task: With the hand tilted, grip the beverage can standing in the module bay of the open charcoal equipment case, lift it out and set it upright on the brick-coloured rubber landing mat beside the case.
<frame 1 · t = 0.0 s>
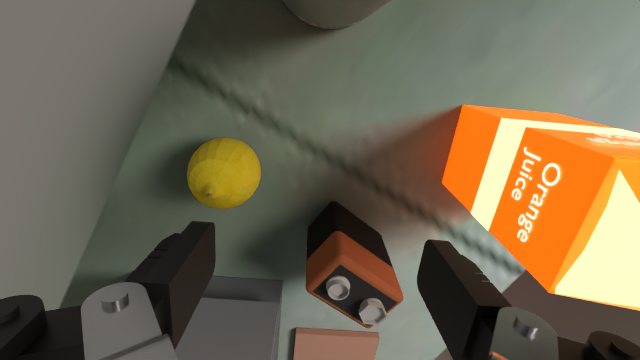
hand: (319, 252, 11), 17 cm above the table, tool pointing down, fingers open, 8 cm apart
orange juice: (495, 149, 28), on the table
fruit: (237, 156, 28), on the table
battery: (344, 229, 31), on the table
landing mat: (332, 358, 39), on the table
equipment case: (212, 328, 36), on the table
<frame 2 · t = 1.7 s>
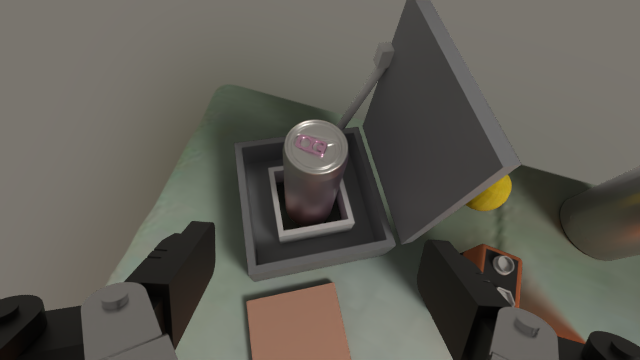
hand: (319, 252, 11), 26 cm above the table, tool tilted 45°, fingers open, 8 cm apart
beverage can: (308, 207, 40), resting in equipment case
fruit: (466, 200, 42), on the table
battery: (452, 293, 37), on the table
landing mat: (299, 340, 33), on the table
equipment case: (308, 206, 40), on the table
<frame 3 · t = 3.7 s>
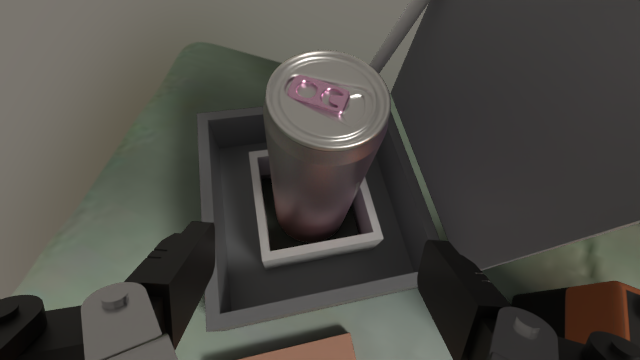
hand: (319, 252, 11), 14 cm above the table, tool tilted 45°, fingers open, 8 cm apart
beverage can: (309, 212, 27), resting in equipment case
battery: (531, 347, 24), on the table
equipment case: (309, 211, 27), on the table
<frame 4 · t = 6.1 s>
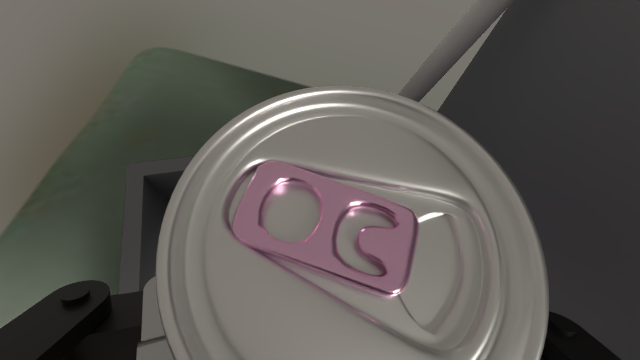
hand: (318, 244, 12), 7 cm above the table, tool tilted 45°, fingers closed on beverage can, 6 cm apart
beverage can: (307, 304, 18), resting in equipment case, touching gripper
equipment case: (307, 304, 18), on the table
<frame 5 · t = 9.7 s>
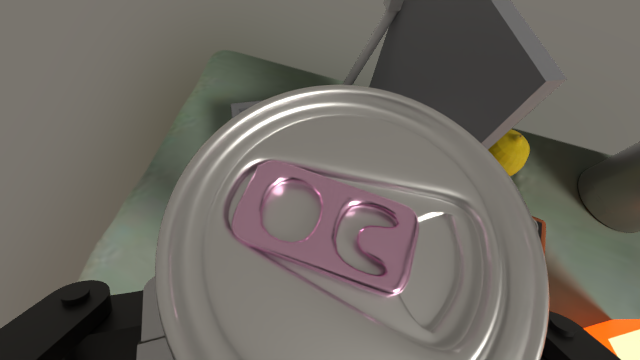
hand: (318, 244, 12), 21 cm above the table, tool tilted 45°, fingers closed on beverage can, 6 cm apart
beverage can: (307, 304, 18), point 14 cm above the table, touching gripper
fruit: (479, 170, 40), on the table
equipment case: (310, 174, 37), on the table
when the fingers open (9 cm above the table, at t = 13.5 s): beverage can drops 1 cm, resting on landing mat.
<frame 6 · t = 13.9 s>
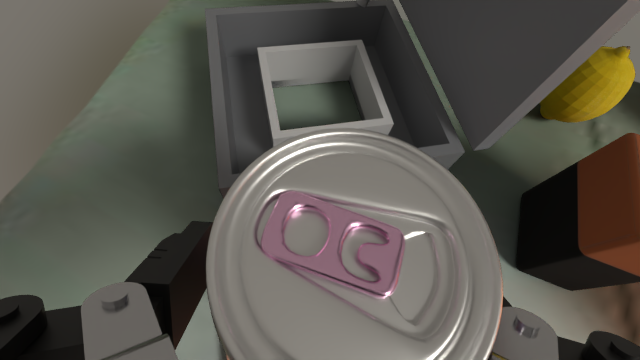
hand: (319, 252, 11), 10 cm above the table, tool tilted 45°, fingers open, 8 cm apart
beverage can: (307, 309, 19), point 1 cm above the table, touching landing mat
fruit: (545, 116, 29), on the table
battery: (541, 240, 24), on the table
equipment case: (318, 116, 27), on the table
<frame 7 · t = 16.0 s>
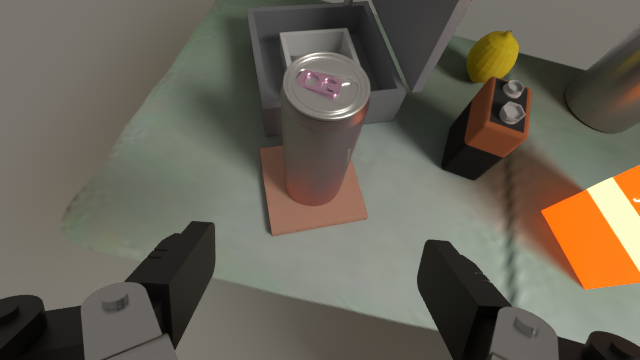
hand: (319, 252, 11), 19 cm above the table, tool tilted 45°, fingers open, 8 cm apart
orange juice: (588, 241, 34), on the table
beverage can: (312, 183, 33), point 1 cm above the table, touching landing mat
fruit: (473, 81, 43), on the table
battery: (460, 154, 37), on the table
landing mat: (311, 184, 33), on the table
equipment case: (318, 79, 40), on the table
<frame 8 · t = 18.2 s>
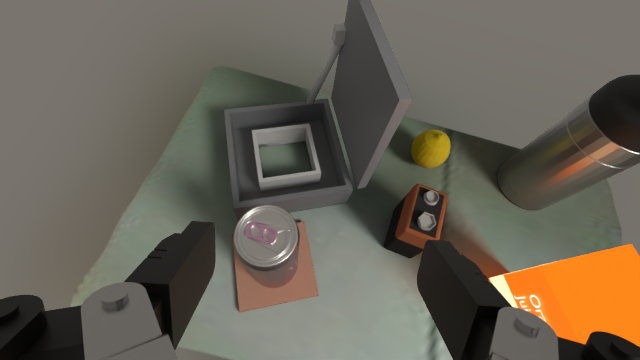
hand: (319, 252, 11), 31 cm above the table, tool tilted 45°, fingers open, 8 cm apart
orange juice: (501, 311, 41), on the table
beverage can: (274, 265, 40), point 1 cm above the table, touching landing mat
fruit: (419, 162, 50), on the table
battery: (401, 233, 45), on the table
landing mat: (274, 264, 41), on the table
equipment case: (285, 164, 48), on the table
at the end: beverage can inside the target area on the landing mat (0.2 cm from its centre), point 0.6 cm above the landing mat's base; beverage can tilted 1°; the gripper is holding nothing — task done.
